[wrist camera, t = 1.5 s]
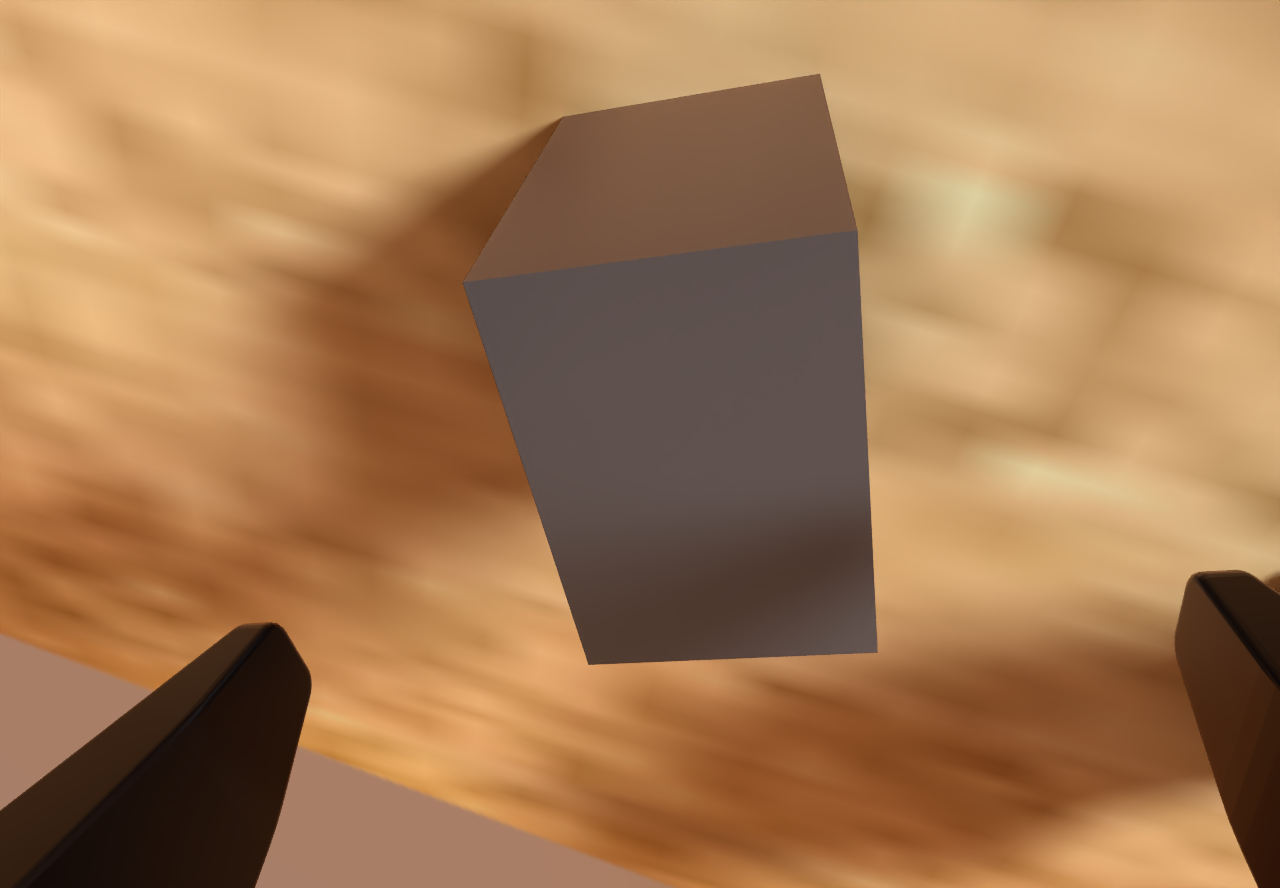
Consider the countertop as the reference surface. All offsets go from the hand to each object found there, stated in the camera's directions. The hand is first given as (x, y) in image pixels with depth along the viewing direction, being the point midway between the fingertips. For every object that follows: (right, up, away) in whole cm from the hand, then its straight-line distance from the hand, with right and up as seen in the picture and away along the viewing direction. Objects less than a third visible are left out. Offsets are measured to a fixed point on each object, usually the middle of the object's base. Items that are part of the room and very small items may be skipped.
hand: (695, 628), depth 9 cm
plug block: (+1, +5, +6) cm, 8 cm away
